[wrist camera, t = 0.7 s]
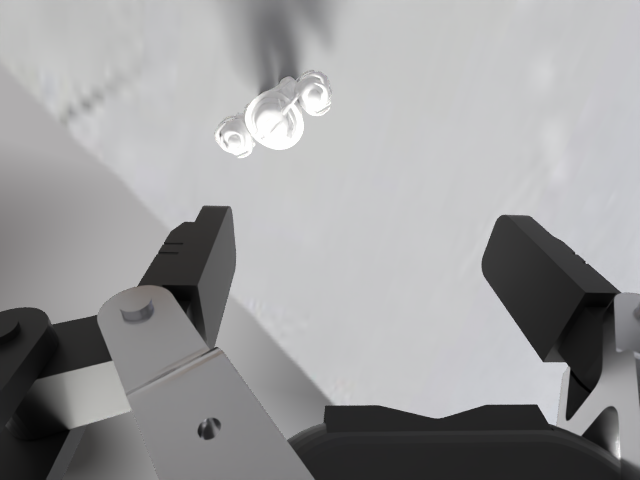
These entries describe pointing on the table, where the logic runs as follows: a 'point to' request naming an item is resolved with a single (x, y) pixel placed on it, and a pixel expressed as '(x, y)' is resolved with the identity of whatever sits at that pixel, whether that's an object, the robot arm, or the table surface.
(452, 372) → the table surface
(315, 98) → the flower shoulder figurine
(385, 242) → the table surface
